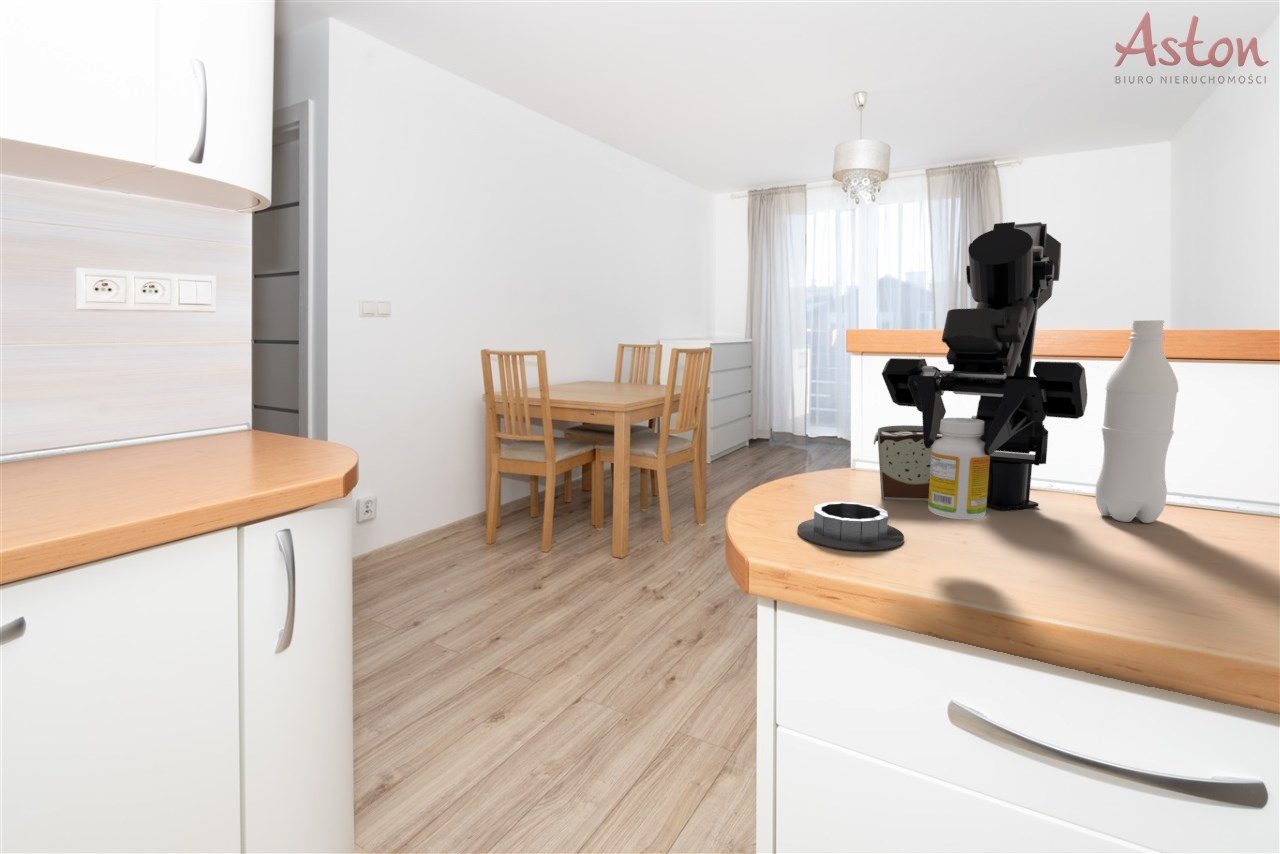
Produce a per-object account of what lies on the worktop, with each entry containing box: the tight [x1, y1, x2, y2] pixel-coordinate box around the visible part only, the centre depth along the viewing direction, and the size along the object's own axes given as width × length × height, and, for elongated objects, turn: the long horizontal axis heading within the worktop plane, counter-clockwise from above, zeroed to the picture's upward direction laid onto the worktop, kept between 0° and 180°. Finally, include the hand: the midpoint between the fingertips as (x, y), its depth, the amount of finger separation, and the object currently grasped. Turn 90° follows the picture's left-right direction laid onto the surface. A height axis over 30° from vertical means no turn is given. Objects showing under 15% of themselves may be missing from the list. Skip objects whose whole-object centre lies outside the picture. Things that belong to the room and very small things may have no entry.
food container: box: [873, 424, 942, 501], centre depth 94 cm, size 12×6×10 cm, turn 81°
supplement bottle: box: [927, 417, 990, 520], centre depth 66 cm, size 5×5×10 cm
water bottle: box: [1094, 319, 1179, 524], centre depth 80 cm, size 7×7×25 cm
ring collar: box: [797, 501, 905, 552], centre depth 76 cm, size 12×12×3 cm
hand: (955, 449), depth 64 cm, fingers closed on supplement bottle, 5 cm apart
